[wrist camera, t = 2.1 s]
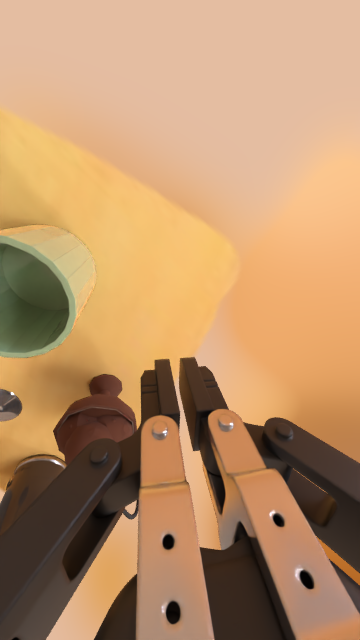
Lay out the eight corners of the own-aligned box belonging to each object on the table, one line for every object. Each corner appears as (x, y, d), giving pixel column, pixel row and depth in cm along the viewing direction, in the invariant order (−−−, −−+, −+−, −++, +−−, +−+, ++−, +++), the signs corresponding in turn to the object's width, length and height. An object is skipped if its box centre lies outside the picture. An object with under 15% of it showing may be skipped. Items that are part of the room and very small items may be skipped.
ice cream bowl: (61, 397, 39) (21, 494, 26) (93, 350, 36) (67, 431, 23) (116, 418, 43) (106, 511, 30) (149, 376, 40) (155, 459, 27)
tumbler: (113, 284, 33) (101, 321, 22) (47, 322, 33) (5, 376, 23) (57, 206, 27) (6, 204, 17) (-19, 254, 28) (-113, 281, 18)
